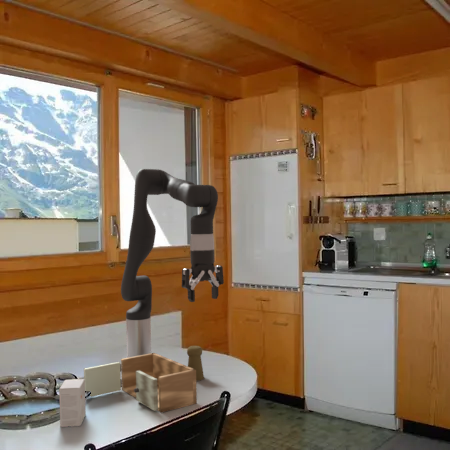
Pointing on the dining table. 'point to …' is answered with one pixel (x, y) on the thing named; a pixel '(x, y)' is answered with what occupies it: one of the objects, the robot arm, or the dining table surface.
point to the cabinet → (159, 382)
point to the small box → (72, 402)
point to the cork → (195, 361)
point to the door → (103, 379)
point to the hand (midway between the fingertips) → (203, 300)
